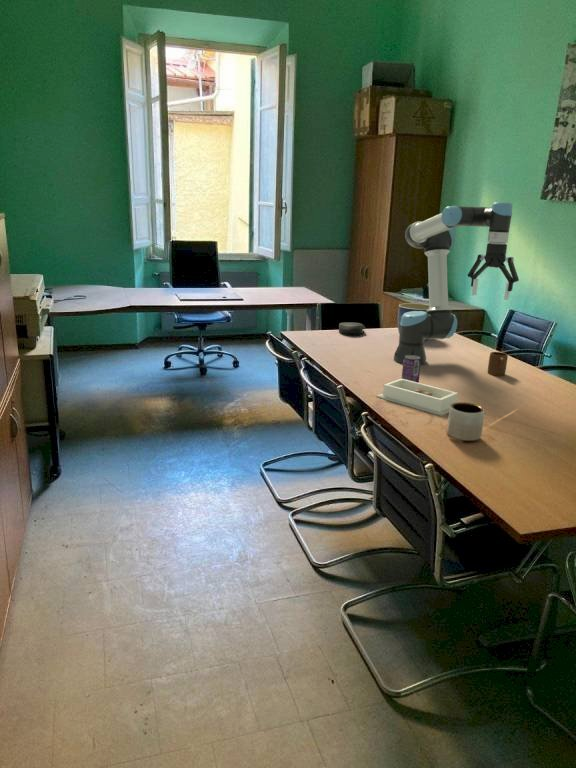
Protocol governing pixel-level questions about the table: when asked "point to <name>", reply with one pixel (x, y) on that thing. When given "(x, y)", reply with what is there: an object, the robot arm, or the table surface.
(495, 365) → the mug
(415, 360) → the beverage can
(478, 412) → the planter
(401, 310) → the planter
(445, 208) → the robot arm
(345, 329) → the dark grey rounded block
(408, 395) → the white rectangular tray
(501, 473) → the table surface
